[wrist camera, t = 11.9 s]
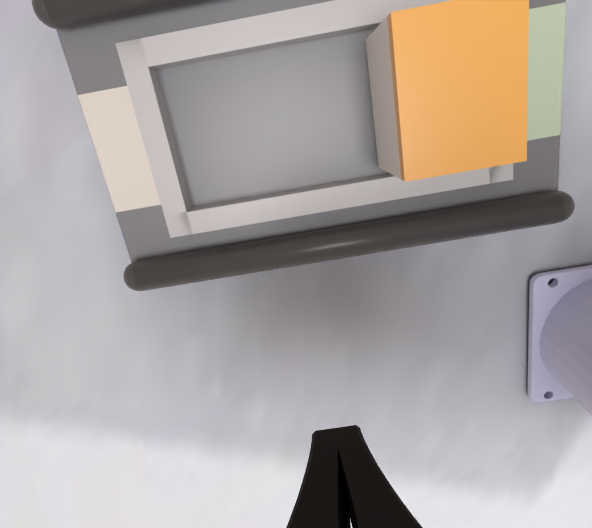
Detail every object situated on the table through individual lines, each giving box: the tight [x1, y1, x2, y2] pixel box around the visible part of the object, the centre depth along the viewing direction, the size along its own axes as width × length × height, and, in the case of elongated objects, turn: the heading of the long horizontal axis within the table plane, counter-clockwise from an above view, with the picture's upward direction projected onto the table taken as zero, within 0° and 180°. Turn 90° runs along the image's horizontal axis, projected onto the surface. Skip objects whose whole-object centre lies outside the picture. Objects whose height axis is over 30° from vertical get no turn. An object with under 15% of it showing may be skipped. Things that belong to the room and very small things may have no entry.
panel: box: [32, 0, 574, 291], centre depth 18 cm, size 20×13×3 cm, turn 100°
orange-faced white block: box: [365, 0, 529, 182], centre depth 15 cm, size 4×5×4 cm
